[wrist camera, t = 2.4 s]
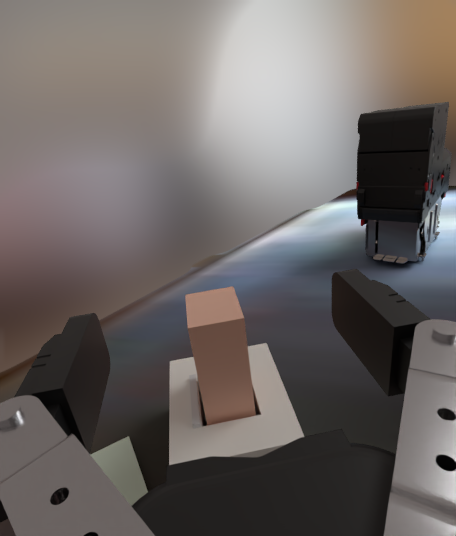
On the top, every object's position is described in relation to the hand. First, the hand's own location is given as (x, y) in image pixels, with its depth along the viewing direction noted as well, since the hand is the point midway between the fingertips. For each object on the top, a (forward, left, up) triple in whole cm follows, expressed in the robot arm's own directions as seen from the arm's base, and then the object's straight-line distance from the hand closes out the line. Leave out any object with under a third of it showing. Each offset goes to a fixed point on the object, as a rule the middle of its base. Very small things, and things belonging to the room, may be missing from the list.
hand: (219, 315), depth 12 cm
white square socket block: (-5, -13, -22) cm, 26 cm away
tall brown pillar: (-5, -13, -21) cm, 25 cm away
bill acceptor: (-53, -33, -23) cm, 66 cm away
